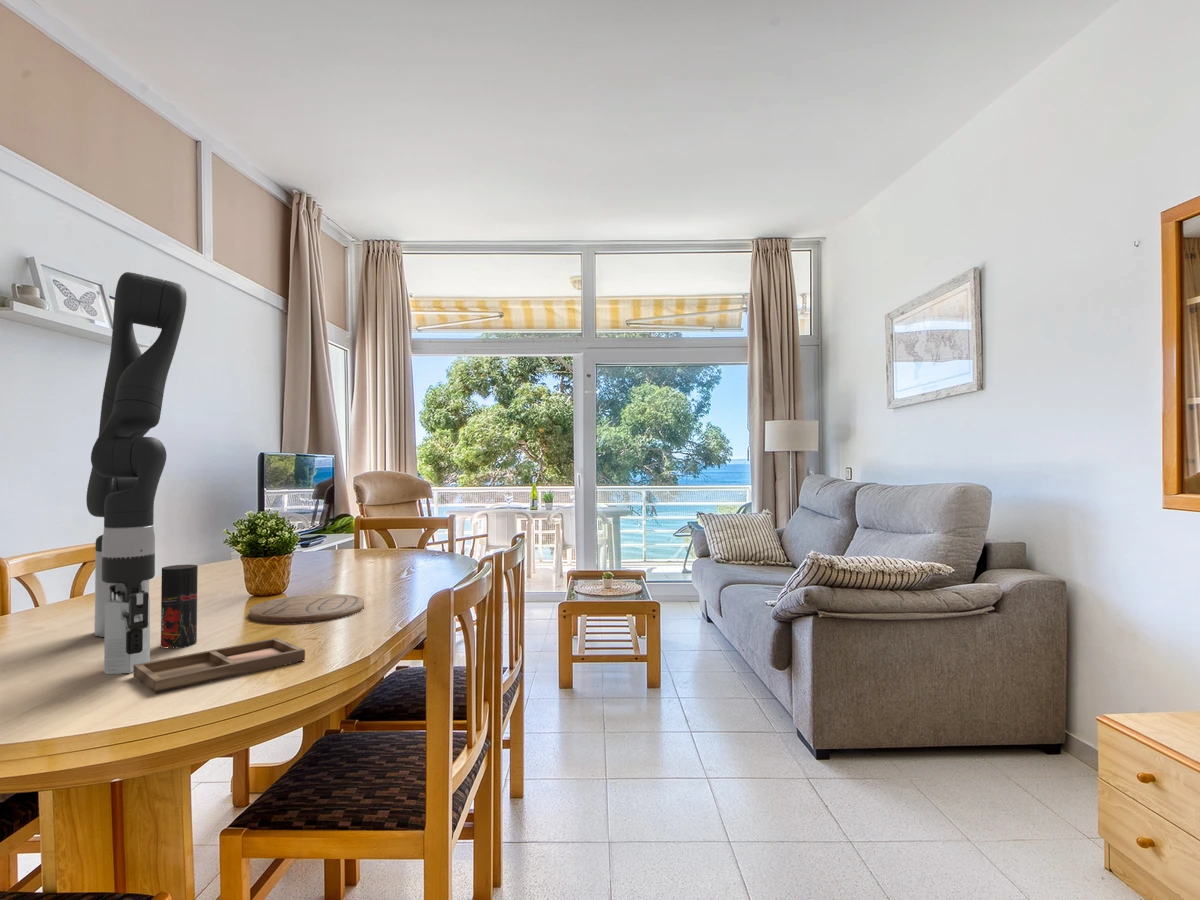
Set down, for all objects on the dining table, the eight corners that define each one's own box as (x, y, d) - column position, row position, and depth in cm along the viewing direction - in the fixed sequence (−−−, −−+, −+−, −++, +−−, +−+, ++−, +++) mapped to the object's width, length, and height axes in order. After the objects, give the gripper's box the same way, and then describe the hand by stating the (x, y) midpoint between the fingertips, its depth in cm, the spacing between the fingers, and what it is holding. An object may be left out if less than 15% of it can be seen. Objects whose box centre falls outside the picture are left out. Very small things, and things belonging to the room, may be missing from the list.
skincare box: (125, 663, 119) (125, 595, 119) (150, 663, 119) (151, 595, 119) (102, 674, 113) (103, 602, 113) (129, 674, 113) (130, 602, 113)
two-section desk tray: (133, 677, 111) (133, 664, 111) (276, 648, 128) (276, 637, 128) (155, 694, 103) (155, 680, 103) (304, 660, 120) (304, 649, 120)
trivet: (233, 628, 146) (233, 619, 146) (266, 603, 170) (266, 596, 170) (355, 622, 151) (355, 613, 151) (370, 599, 175) (370, 592, 175)
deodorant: (203, 642, 133) (204, 565, 133) (173, 649, 127) (174, 570, 128) (184, 638, 135) (184, 563, 135) (153, 646, 130) (154, 568, 130)
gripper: (167, 554, 114) (166, 652, 114) (142, 546, 124) (141, 637, 123) (113, 559, 108) (112, 662, 108) (92, 551, 118) (91, 645, 118)
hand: (127, 648), depth 116 cm, fingers closed on skincare box, 7 cm apart
